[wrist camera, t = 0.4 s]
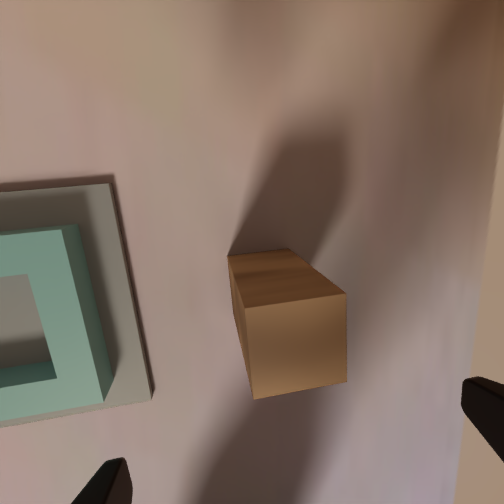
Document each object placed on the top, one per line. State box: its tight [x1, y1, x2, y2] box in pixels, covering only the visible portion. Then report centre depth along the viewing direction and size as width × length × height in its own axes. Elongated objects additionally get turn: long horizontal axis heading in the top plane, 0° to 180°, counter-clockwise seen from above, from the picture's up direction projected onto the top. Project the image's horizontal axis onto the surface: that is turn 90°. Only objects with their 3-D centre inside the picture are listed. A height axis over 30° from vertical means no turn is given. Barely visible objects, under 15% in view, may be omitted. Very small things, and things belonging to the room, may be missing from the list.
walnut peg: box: [227, 249, 347, 400], centre depth 15 cm, size 4×4×8 cm
